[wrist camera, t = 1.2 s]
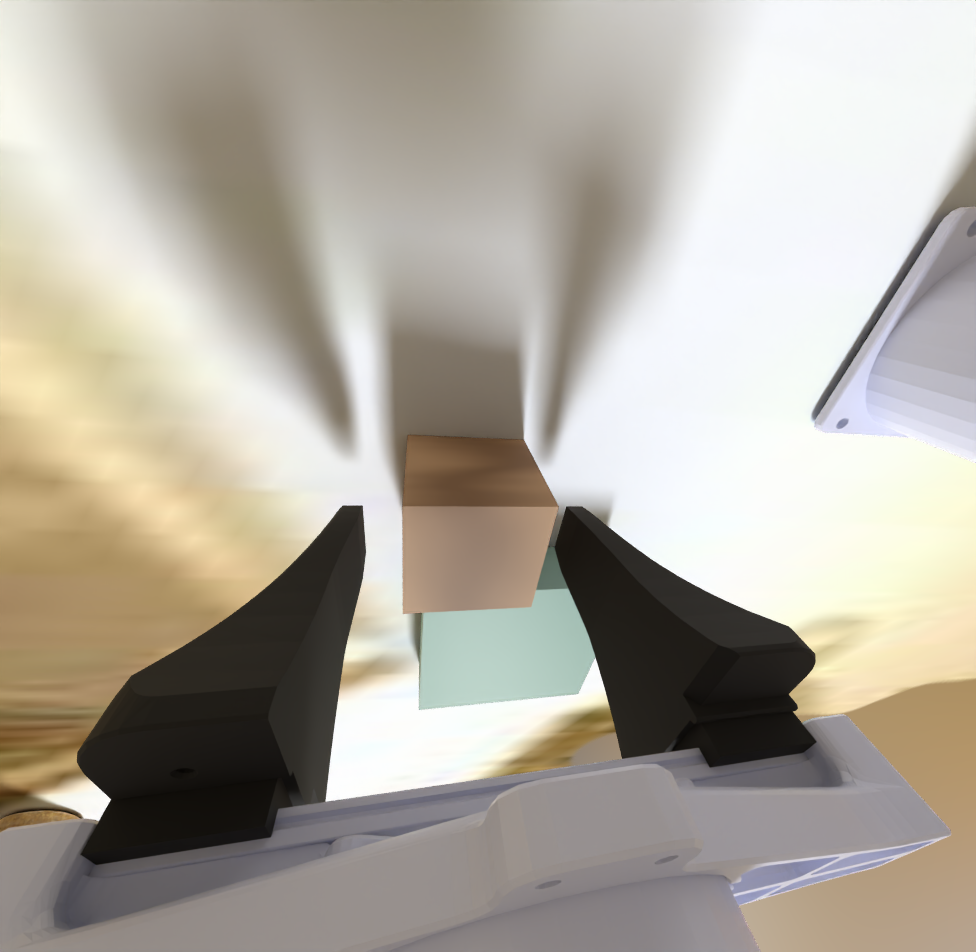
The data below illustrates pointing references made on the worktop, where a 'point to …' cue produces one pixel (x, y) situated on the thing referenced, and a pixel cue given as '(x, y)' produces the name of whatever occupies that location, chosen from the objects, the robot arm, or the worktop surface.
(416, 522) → the walnut cube
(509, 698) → the base block
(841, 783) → the robot arm
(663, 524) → the worktop surface
